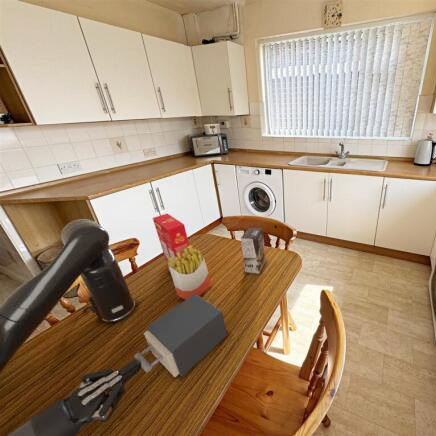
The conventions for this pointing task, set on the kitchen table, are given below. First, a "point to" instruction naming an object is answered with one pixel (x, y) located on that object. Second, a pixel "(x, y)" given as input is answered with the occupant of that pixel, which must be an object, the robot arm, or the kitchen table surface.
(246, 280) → the kitchen table surface
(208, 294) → the kitchen table surface
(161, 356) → the drawer
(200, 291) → the french fries container
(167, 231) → the food packaging
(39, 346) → the kitchen table surface
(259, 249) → the coffee box
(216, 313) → the cabinet
